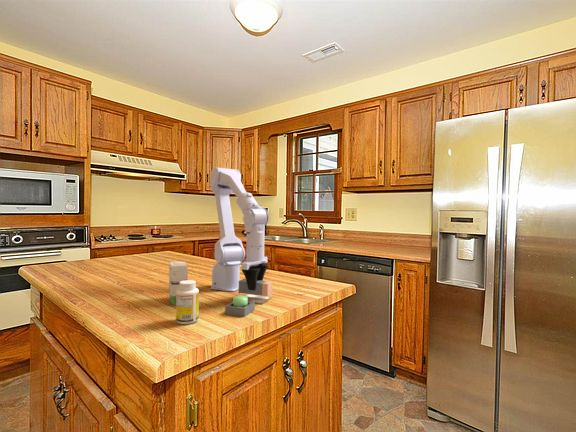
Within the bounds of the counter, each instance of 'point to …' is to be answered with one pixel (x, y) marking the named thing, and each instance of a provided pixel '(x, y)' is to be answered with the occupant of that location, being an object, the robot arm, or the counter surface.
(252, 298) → the sheet
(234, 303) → the button
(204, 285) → the counter surface
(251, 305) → the button housing
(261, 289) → the grey rectangular block
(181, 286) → the supplement bottle
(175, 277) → the ink box
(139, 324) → the counter surface
